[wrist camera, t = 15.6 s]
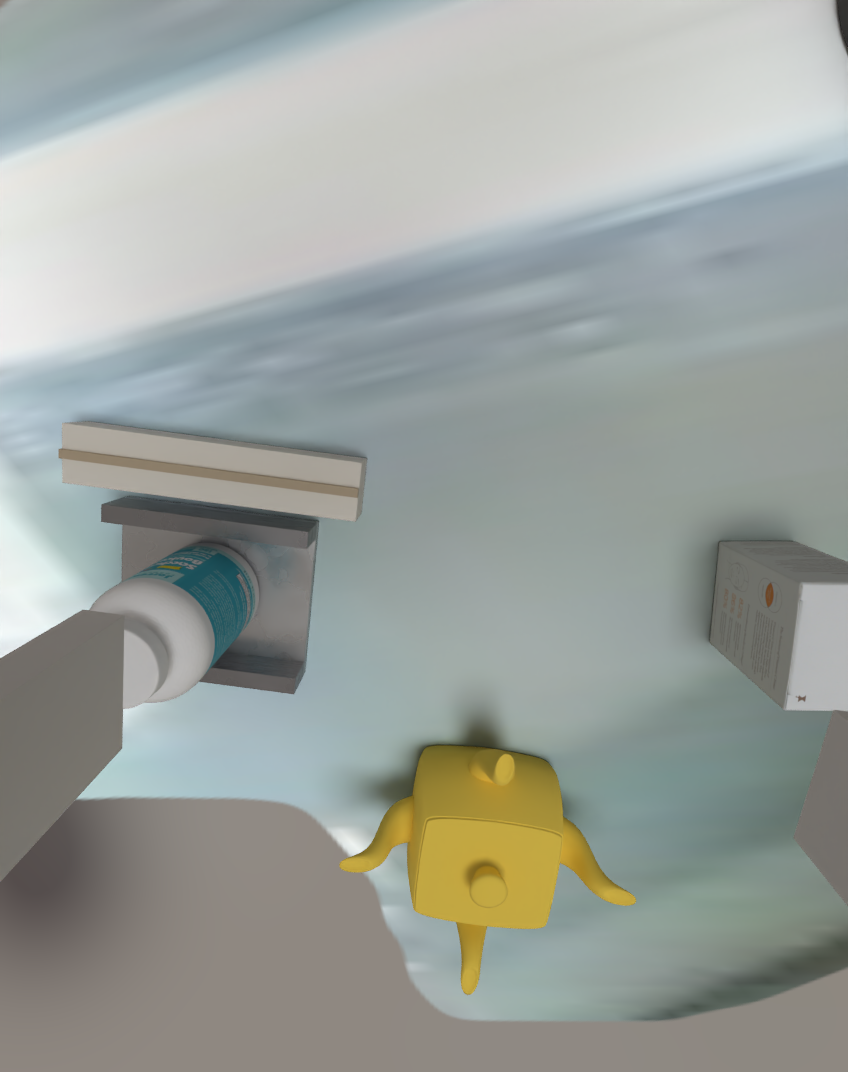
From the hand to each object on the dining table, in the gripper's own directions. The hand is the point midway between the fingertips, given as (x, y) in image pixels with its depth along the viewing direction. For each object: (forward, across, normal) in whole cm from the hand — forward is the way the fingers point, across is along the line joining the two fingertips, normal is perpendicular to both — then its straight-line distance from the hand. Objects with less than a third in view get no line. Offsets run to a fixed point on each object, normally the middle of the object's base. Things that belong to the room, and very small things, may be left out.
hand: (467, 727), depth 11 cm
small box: (+33, +23, -5) cm, 41 cm away
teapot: (+33, +6, -25) cm, 42 cm away
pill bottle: (+32, -16, -10) cm, 37 cm away
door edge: (+33, -16, -1) cm, 36 cm away
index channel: (+33, -16, -10) cm, 38 cm away
